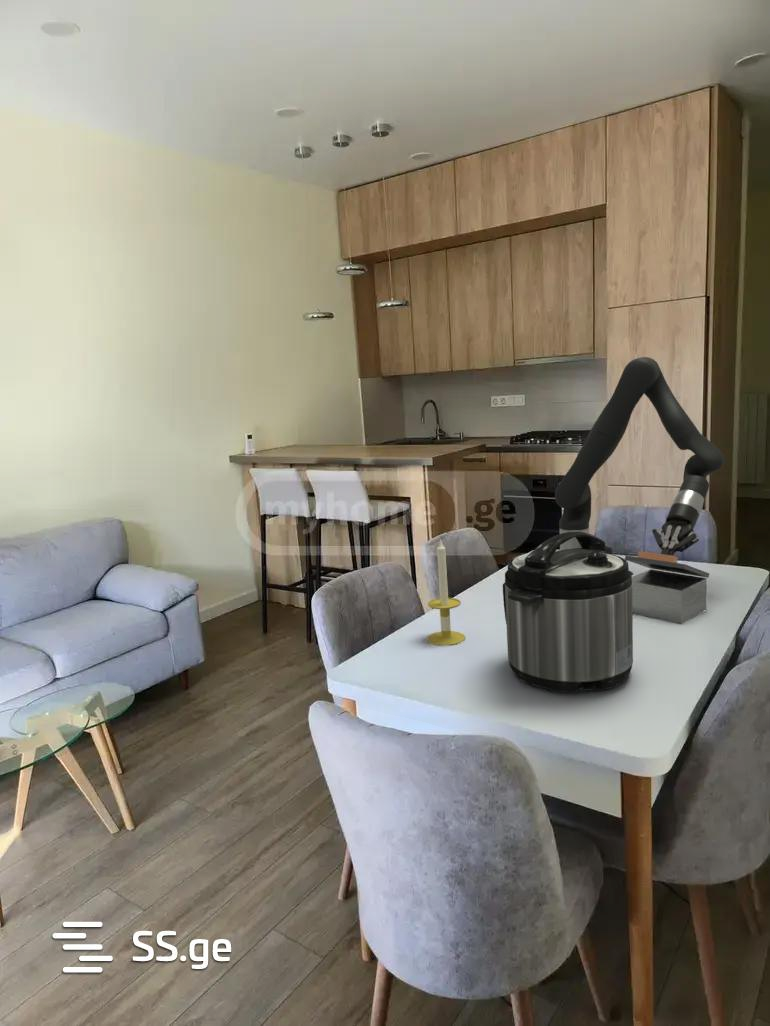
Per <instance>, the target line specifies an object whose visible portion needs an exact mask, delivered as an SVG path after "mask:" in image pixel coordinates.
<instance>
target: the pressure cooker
mask: <svg viewBox="0 0 770 1026" xmlns="http://www.w3.org/2000/svg"><path fill="white" fill-rule="evenodd" d="M574 537H576V539H577V540H578V542H579V544H580V545H581V547H582V548H573V549H564V550H560V549H558V548H560V545H561V544H563V543H565V542H566V541H568V540H570V539H572V538H574ZM633 575H634V572H633V571H630V569H629V561H627V560H625V558H623V557H621V556H620V555H619V556H618V555H616V554H613V548H612V547H611V546H608V545H607V546H606V542H605V541H604V540H603V539H601V538H600V537H597V536H596V535H594V534H592V533H589V534H588V533H584V532H566V533H562V534H560V533H559V534H556V535H554V536H552V537H549V538H548V539H547V540H544V541H543V542H541V543H540V544H539V545H537V547H535V548H534V549H533V550H532V551H531V552H526V553H523V554H519V555H517V556H514V557H512V558H511V559H509V560H508V561H507V570H506V571H505V572H504V582H503V584H502V595H503V597H502V598H503V599H502V600H503V609H504V610H503V611H504V619H505V625H506V643H507V645H506V646H507V659H508V664H509V667H510V670H511V671H512V672H513V673H514V675H515V676H516V677H517V678H518V679H519V680H521V681H522V682H524V683H526V684H528V685H531V686H536V687H540V688H543V689H545V690H550V691H554V692H559V693H560V692H561V693H577V692H579V690H582V691H586V690H589V691H603V690H609V689H612V688H615V687H617V686H619V685H620V684H622V683H623V682H624V681H625V680H627V679H628V677H629V675H630V673H631V671H632V667H633V663H634V655H633V654H634V652H633V651H634V646H633V644H634V640H633V638H634V636H633V634H634V632H633V615H634V614H633V611H632V601H633V600H632V577H633Z"/></svg>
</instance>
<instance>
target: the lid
mask: <svg viewBox="0 0 770 1026" xmlns="http://www.w3.org/2000/svg"><path fill="white" fill-rule="evenodd" d="M678 558H679V557H678V556H675V555H673V556H672V555H664V554H661V553H657V552H655V553H654V552H650V551H649V552H648V551H643V550H638V552H637V556H632V555H625V557H624V559H625V560H626V561H627V562H630V563H634V564H636V565H638V566H641V567H645V568H648V569H652V570H658V571H664V572H671V573H677V574H683V575H689V576H696V577H702V578H709V577H710V573H709V572H707V571H703V570H701V569H698V568H696V567H693V566H691V565H688V564H685V563H679V562H678Z"/></svg>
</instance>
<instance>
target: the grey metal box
mask: <svg viewBox="0 0 770 1026" xmlns="http://www.w3.org/2000/svg"><path fill="white" fill-rule="evenodd" d="M707 586H708V585H707V577H701V576H694V575H688V574H682V573H676V572H669V571H663V570H657V569H651V568H649V569H647V570H645V571H643V572H641V573H639V574H636V575H634V576H632V600H633V601H632V611H633V615H639V616H642V615H643V616H644V617H648V618H653V619H655V620H657V619H658V620H662V621H666V622H671V623H675V624H680V625H682V624H684V623H686V622H688V621H689V620H691V619H692V618H694V616H695V617H697V616H698V615H700V614H702V613H704V612H705V611H704V610H706V611H707ZM703 611H704V612H703ZM701 612H702V613H701ZM699 613H700V614H699ZM643 616H642V617H643Z"/></svg>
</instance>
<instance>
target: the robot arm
mask: <svg viewBox="0 0 770 1026" xmlns="http://www.w3.org/2000/svg"><path fill="white" fill-rule="evenodd" d="M644 395H645V396H646V397H647V398H648V400H649V401H650V403H652V406H653V407H654V409H655V411H656V413H657V415H658V417H659V419H660V421H661V423H662V425H663V427H664V429H665V431H666V433H667V434H668V436H669V437H670V438H671V440H672V441H673V442H674V444H675V445H676V447H677V448H678V449H679V450H680V451H687V450H688V451H691V452H692V453H693V455H691V456H690V457H689V458H688V459H687V461H686V463H685V466H684V470H683V478H682V480H683V481H682V482H681V485H680V487H679V490H678V492H677V494H676V495H675V497H674V499H673V502H672V505H671V507H670V508H669V511H668V514H667V516H666V519H665V522H664V524H662V526H661V527H660V528H659V529H656V528H654V529H652V530H651V532H652V534H653V536H654V540H655V542H656V543H657V546H658V548H659V549H661V552H660V554H664V555H672V556H675V554H676V553H677V552H679V553H682V552H684V551H685V550H687V549H689V548H690V547H692V546H693V545H695V544H696V543H698V542H699V541H700V539H699V537H698V535H697V534H696V533H694V532H695V530H694V528H695V527H696V524H697V522H698V519H699V516H700V514H701V513H702V509H703V506H704V502H705V500H706V497H707V494H708V492H709V488H710V484H709V483H710V482H709V481H708V480H707V477H708V476H710V475H712V474H714V473H717V472H718V471H720V470H722V468H723V467H724V464H725V459H724V456H723V453H722V451H721V450H720V449H719V448H718V447H717V446H716V444H714V443H713V442H712V441H711V440H709V439H708V438H707V437H706V436H704V435H703V434H702V433H700V431H699V430H698V428H697V426H696V425H695V423H694V421H692V420H691V418H690V417H689V415H688V414H687V412H686V411H685V410H684V408H683V407H682V406H681V404H680V402H679V401H678V400H677V398H676V397H675V395H674V393H673V392H672V390H671V388H670V386H669V384H668V383H667V380H666V379H665V376H664V373H663V372H662V370H661V368H660V365H659V363H658V362H657V361H656V360H655V359H654V358H651V357H647V356H642V357H638V358H637V357H636V358H634V359H632V360H631V361H629V362H628V363H627V364H626V365H625V367H624V369H623V371H622V373H621V375H620V378H619V380H618V382H617V385H616V387H615V389H614V392H613V393H612V395H611V398H610V399H609V401H608V402H607V404H606V405H605V407H604V408H603V410H602V411H601V412H600V414H599V416H598V417H597V419H596V420H595V422H594V423H593V425H592V427H591V429H590V430H589V432H588V434H587V436H586V438H585V440H584V442H583V444H582V446H581V447H580V449H579V452H578V453H577V455H576V457H575V459H574V461H573V463H572V465H571V466H570V468H569V469H568V471H567V472H566V473H565V475H564V476H563V477H562V478H561V481H559V483H558V485H556V489H555V492H554V499H555V502H556V504H557V505H558V506H559V507H560V508H562V509H563V511H562V514H561V517H560V518H559V521H558V522H559V523H558V526H559V534H562V533H566V532H584V533H588V534H590V520H591V516H592V489H591V487H590V482H591V481H592V479H593V477H594V475H595V474H596V473H597V472H598V471H599V469H600V468H601V467H602V466H604V464H605V463H606V462H607V460H609V458H610V457H611V456H612V455H613V453H614V452H615V451H616V449H617V447H618V446H619V444H620V442H621V441H622V440H623V437H624V434H626V431H627V428H628V427H629V426H628V425H629V422H630V420H631V416H632V415H633V414H632V413H633V412H634V409H635V407H636V406H637V404H638V403H639V401H640V400H641V398H642V397H643V396H644ZM663 535H664V538H663ZM662 538H663V540H664V541H663V540H662ZM573 548H582V547H581V545H580V544H579V542H578V540H577V539H576V537H574V538H572V539H570V540H568V541H566V542H565V543H563V544H561V545H559V550H564V549H573Z"/></svg>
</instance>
